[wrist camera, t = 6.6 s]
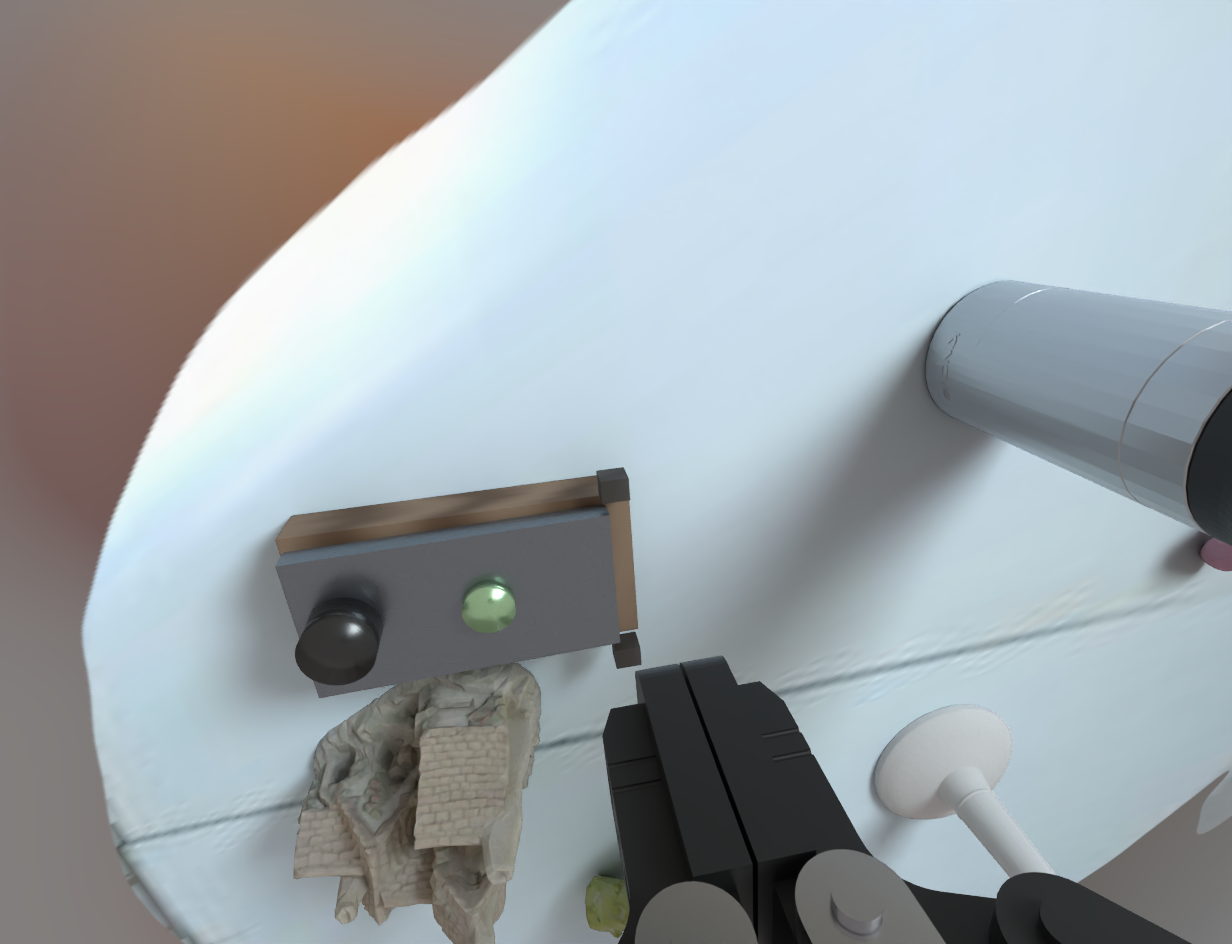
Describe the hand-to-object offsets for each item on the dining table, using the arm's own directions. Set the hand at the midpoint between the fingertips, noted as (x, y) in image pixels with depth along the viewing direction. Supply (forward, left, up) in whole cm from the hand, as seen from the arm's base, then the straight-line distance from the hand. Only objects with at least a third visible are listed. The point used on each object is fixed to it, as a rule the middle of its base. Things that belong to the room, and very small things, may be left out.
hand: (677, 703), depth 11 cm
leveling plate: (+7, +13, -25) cm, 29 cm away
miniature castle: (+12, +27, -29) cm, 41 cm away
